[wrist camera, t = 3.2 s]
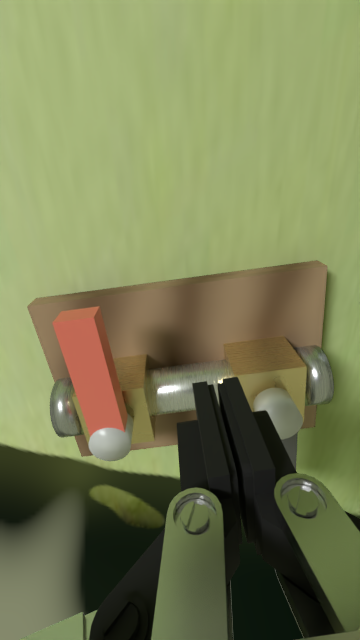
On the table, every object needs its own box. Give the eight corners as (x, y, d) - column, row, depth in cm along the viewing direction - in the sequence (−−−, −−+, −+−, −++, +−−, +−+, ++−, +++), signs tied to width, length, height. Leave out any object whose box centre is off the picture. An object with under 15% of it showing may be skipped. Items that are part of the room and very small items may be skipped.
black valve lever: (252, 390, 19) (260, 410, 17) (291, 385, 19) (303, 404, 17) (255, 490, 23) (263, 514, 21) (288, 486, 23) (298, 510, 21)
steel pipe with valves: (308, 332, 22) (336, 362, 19) (305, 382, 24) (330, 418, 20) (62, 365, 22) (42, 401, 19) (78, 411, 24) (63, 452, 21)
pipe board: (317, 260, 22) (327, 265, 20) (307, 414, 27) (315, 426, 26) (35, 298, 22) (27, 306, 20) (85, 442, 28) (81, 456, 26)
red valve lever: (136, 435, 20) (134, 458, 18) (100, 439, 20) (94, 463, 18) (104, 304, 16) (97, 318, 14) (58, 310, 16) (46, 325, 14)
